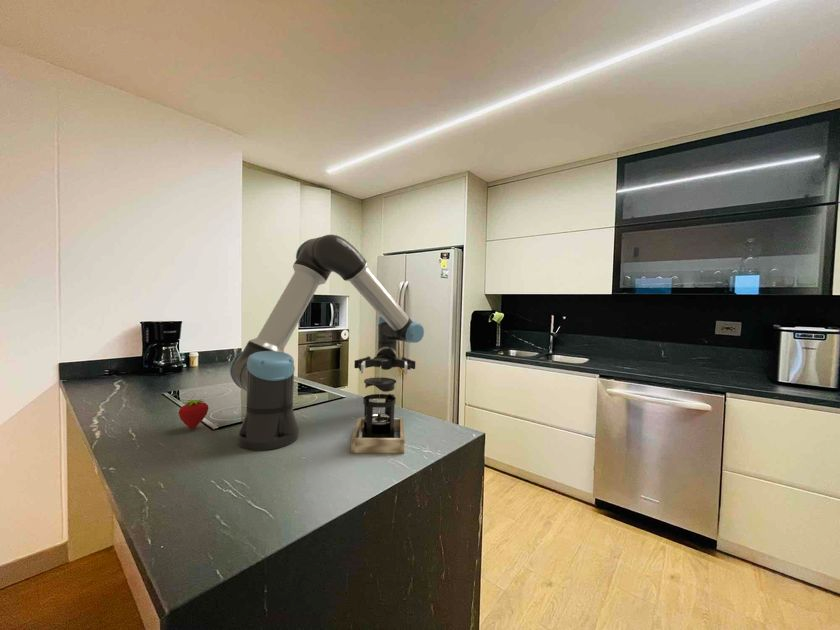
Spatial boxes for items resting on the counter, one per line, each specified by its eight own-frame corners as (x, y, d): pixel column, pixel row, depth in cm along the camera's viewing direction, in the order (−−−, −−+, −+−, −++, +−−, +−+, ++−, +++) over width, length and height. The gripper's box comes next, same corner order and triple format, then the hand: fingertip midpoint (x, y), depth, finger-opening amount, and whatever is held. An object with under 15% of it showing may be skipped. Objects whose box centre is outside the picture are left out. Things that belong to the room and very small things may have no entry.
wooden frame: (350, 452, 85) (351, 439, 85) (358, 429, 102) (358, 417, 102) (404, 453, 86) (404, 439, 86) (402, 429, 103) (403, 418, 103)
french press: (381, 451, 87) (384, 363, 86) (352, 443, 91) (355, 359, 91) (404, 436, 97) (407, 357, 97) (377, 430, 102) (380, 354, 101)
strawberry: (212, 427, 99) (213, 393, 99) (184, 435, 93) (185, 399, 92) (201, 423, 102) (202, 390, 102) (173, 430, 96) (174, 395, 95)
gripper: (419, 368, 126) (423, 381, 105) (352, 367, 125) (343, 380, 104) (419, 348, 126) (424, 357, 105) (352, 347, 124) (343, 356, 103)
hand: (384, 369), depth 104 cm, fingers open, 13 cm apart
